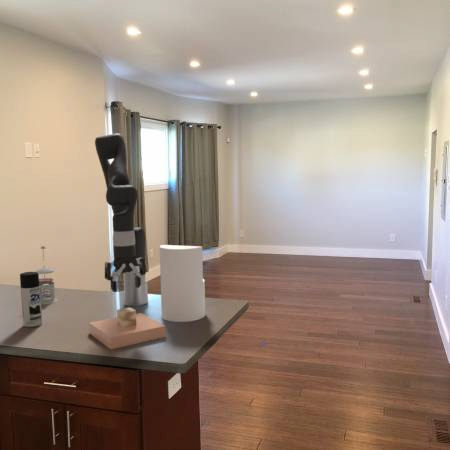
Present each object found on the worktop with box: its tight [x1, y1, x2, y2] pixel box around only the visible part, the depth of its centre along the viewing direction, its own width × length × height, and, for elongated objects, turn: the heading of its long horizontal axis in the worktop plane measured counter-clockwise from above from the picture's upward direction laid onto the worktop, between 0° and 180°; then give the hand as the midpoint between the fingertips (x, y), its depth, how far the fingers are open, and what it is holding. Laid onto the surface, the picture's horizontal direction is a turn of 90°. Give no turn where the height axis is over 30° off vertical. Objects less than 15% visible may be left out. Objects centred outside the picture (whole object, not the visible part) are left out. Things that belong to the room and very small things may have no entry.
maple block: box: [116, 307, 137, 327], centre depth 177 cm, size 5×5×5 cm
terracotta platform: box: [88, 312, 167, 350], centre depth 178 cm, size 20×20×4 cm
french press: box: [34, 245, 58, 305], centre depth 224 cm, size 10×12×25 cm
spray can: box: [19, 271, 43, 328], centre depth 190 cm, size 7×7×20 cm
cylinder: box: [159, 244, 206, 323], centre depth 199 cm, size 17×17×28 cm
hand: (126, 289), depth 176 cm, fingers open, 8 cm apart
